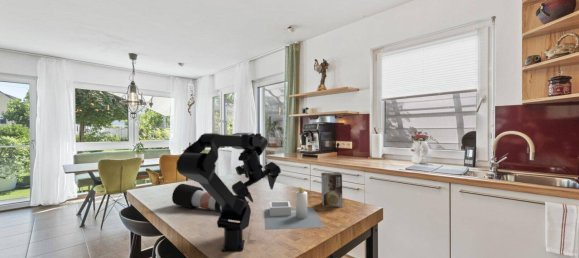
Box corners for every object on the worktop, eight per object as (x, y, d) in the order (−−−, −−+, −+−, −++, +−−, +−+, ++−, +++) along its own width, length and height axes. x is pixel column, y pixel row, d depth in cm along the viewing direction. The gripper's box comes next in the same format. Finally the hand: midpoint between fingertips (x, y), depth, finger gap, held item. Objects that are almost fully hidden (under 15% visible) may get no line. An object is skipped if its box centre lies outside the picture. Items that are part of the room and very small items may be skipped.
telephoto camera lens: (237, 225, 111) (233, 208, 107) (175, 209, 123) (169, 192, 118) (248, 208, 120) (244, 192, 115) (189, 195, 131) (184, 179, 126)
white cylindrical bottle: (308, 218, 103) (308, 188, 103) (296, 218, 102) (296, 189, 103) (306, 214, 108) (306, 186, 108) (295, 215, 107) (295, 186, 107)
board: (325, 230, 94) (325, 217, 94) (265, 232, 92) (265, 219, 92) (312, 210, 118) (312, 199, 118) (264, 211, 116) (264, 201, 116)
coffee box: (339, 204, 126) (339, 172, 126) (342, 208, 120) (342, 174, 120) (321, 205, 126) (321, 172, 126) (323, 209, 119) (323, 174, 119)
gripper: (261, 144, 103) (270, 174, 110) (219, 167, 94) (232, 198, 101) (277, 154, 94) (285, 186, 102) (233, 180, 86) (245, 213, 93)
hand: (262, 195), depth 100 cm, fingers open, 9 cm apart
